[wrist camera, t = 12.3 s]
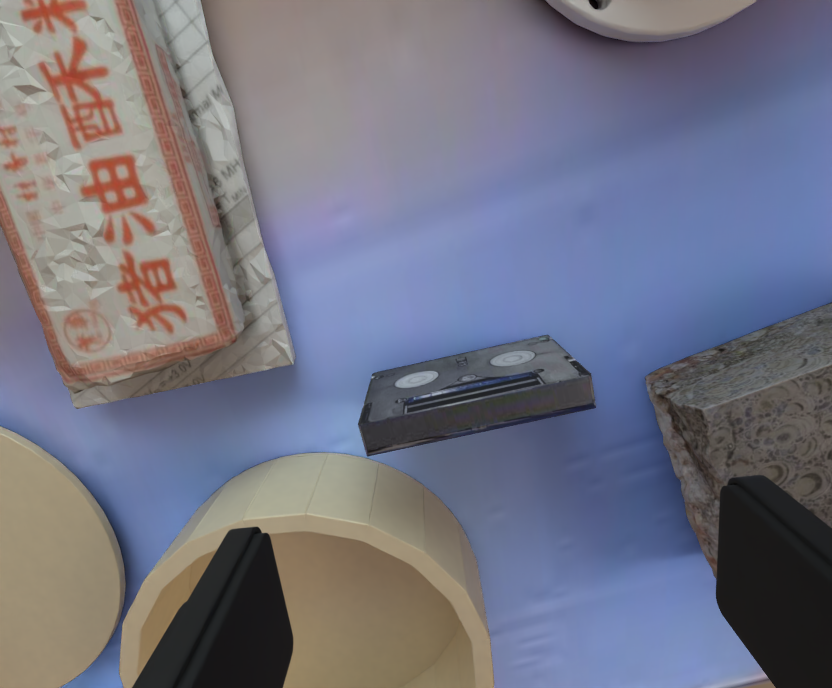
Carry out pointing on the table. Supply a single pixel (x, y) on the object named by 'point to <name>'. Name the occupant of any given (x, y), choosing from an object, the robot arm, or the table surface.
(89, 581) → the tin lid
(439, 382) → the mini dv tape
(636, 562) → the table surface
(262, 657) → the robot arm
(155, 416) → the table surface
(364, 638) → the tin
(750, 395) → the geological specimen
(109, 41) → the packaged product
